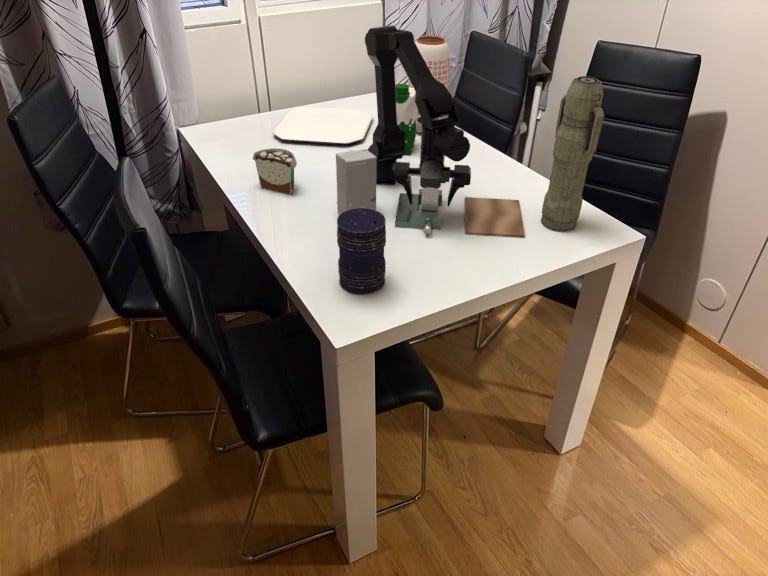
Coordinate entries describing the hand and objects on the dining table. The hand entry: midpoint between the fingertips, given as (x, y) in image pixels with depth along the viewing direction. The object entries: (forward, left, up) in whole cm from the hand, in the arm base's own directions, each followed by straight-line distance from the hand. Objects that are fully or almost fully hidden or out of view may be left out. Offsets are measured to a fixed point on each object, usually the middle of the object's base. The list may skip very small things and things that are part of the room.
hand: (429, 204), depth 152 cm
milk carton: (-10, +39, -3) cm, 40 cm away
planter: (-3, +56, -3) cm, 56 cm away
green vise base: (-3, -2, -2) cm, 4 cm away
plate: (-36, +53, -3) cm, 64 cm away
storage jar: (-13, -31, -3) cm, 34 cm away
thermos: (+32, -1, -3) cm, 32 cm away
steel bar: (0, 0, -3) cm, 3 cm away
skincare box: (-18, -2, -3) cm, 18 cm away
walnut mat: (+16, 0, -2) cm, 16 cm away
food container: (-40, +10, -3) cm, 41 cm away
